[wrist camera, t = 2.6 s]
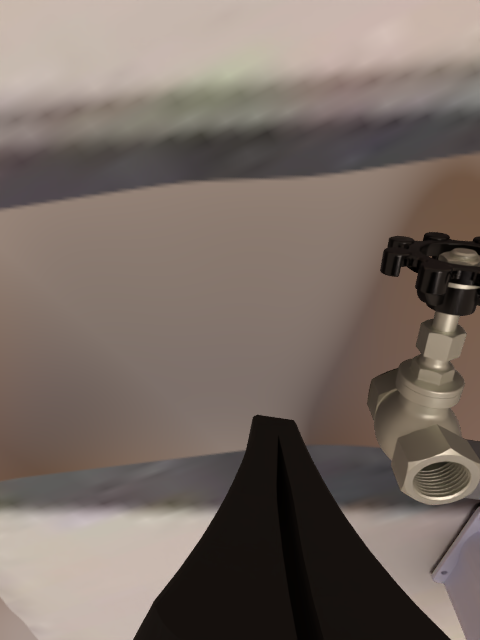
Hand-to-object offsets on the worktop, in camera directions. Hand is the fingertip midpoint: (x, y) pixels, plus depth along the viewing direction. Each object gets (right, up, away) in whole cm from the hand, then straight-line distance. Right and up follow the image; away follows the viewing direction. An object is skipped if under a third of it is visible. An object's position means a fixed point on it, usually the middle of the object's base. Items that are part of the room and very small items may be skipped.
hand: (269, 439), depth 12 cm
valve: (+9, +3, +9) cm, 13 cm away
